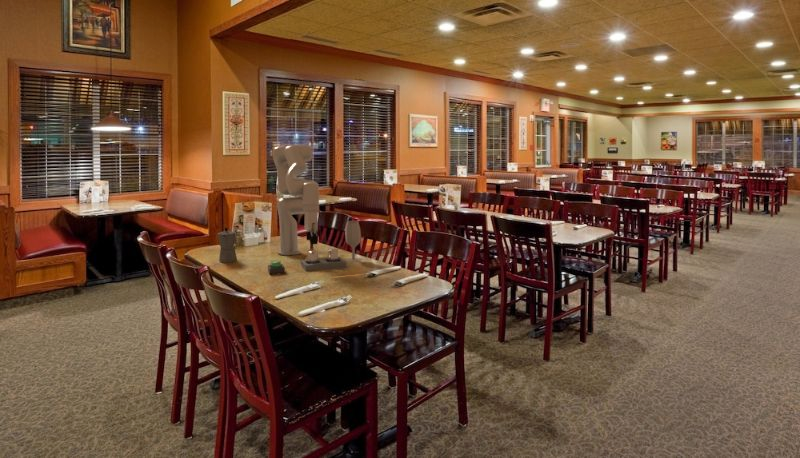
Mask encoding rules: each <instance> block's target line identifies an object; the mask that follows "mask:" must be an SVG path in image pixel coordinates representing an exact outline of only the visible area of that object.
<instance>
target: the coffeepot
mask: <svg viewBox="0 0 800 458" xmlns="http://www.w3.org/2000/svg"><path fill="white" fill-rule="evenodd" d="M216 235H217V239H218V242H219V246H220V249H219V258H218V261H219V262H220V263H222V262H225V263H224V264H226V263H227V264H228V263H234V262H237V261H238V258H237V254H236V253H237V252H236V249H235V244H236V243H235V242H236V232H235V231H232V230H230V229H229V228H228V227H224V231H220V232H217V234H216Z"/></svg>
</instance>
